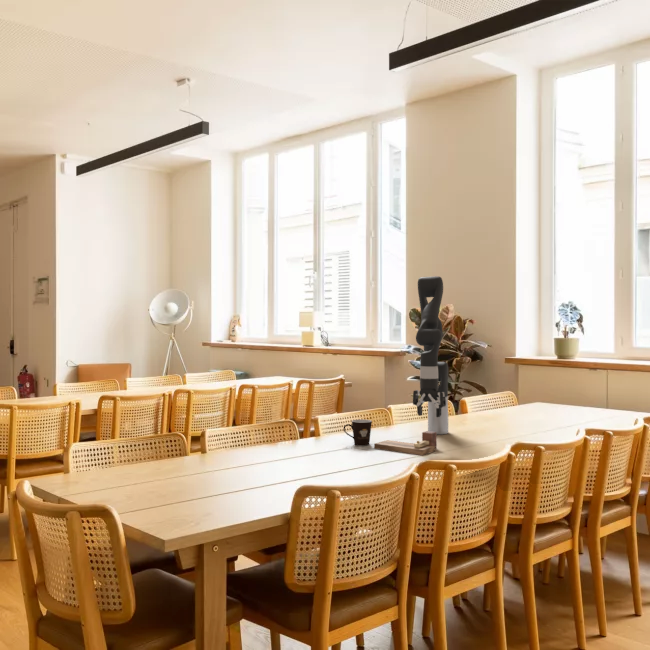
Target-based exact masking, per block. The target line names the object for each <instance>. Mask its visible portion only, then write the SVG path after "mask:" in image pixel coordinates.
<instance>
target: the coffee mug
mask: <svg viewBox="0 0 650 650" xmlns="http://www.w3.org/2000/svg"><path fill="white" fill-rule="evenodd" d="M372 421H373V420H371V419H361V418H360V419H352V420H351V424H349V423H348V424H345V425H344V426H343V432H344V433H345V434H346V435H347V436H349V437H351V438H352V439H353V443H354V446H358V447H359V446H369V445H370V441H371V432H372V423H373V422H372ZM347 426H348V427H350V428H351V429H352V435H351V434H350V433H348V432H347V431H346V427H347Z"/></svg>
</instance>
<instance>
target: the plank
mask: <svg viewBox="0 0 650 650" xmlns="http://www.w3.org/2000/svg"><path fill="white" fill-rule="evenodd" d="M414 443H415V442H414ZM414 443H413V442H404V441H398V440H390V439H387V440H383V441H379V442H374V445H373V446H374V449H377V450H383V451H389V452H390V451H391V452H398V453H404V454H412V455H418V456H419V455H420V456H423V455H427V454H430V453H434V452H436V449H435V446H429V445H426V446H423V447H420V448H416V447H414Z"/></svg>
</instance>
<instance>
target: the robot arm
mask: <svg viewBox="0 0 650 650" xmlns="http://www.w3.org/2000/svg"><path fill="white" fill-rule="evenodd" d="M417 293H418V300H419V307H420V308H419V309H420V317H421V322H420V326H419V328H418V330H417V332H416V335H415V341H416V343H417V344H418V345H419V346H420V347H421V346H422V347H423V351H422V352H421V353H420V368H419V389H420V390H419V389H415V390H413V391H412V392H413V393H412V394H413V395H412V404H413V405H414V406H416V409H417V411H416V412H417V413H416V414H417V416H418V417H420V416H423V404H424V403H425V402H427V431H431V432H436V435H446V434H449V401H448V400H449V397H448V395H449V364H448V363H447V361H439V360H438V357H439V351H440V347H441V343H442V340H443V337H444V336H443V333H444V332H443V323H442V321H441V318H440V317H439V314H440V308H441V304H442V299H443V295H444V281H443V278H442V277H441V276H437V275H436V276H435V275H433V276H421V277H419V278H418V281H417ZM428 298H432V299H431V300H430V301H429V302H428ZM439 382H440V384H439ZM419 396H420V398H419Z"/></svg>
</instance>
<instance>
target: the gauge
mask: <svg viewBox="0 0 650 650" xmlns="http://www.w3.org/2000/svg"><path fill="white" fill-rule="evenodd" d="M421 435H422V436H421V439H422V440H421V441H420V440H416V442H414V447H416V448H420V447H423V446H426V445H429V446H435V450H437V444H438V443H437V441H438V440H437V438H438V437H437V434H436V432H431V431H428V430H426V431H423V432H421Z"/></svg>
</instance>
